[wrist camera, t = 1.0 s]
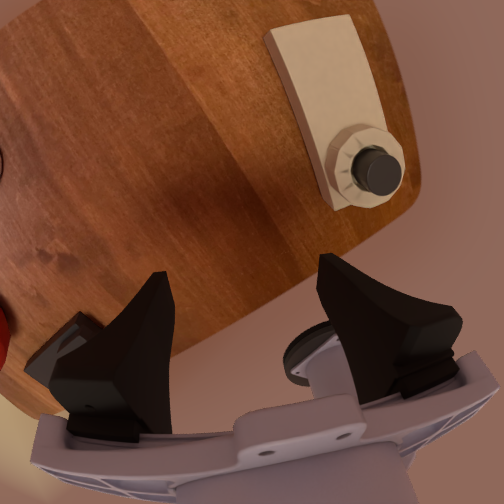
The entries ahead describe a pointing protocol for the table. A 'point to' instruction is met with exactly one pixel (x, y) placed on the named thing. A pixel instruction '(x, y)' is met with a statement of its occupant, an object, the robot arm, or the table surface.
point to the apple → (3, 338)
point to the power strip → (60, 347)
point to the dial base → (333, 103)
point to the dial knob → (377, 171)
